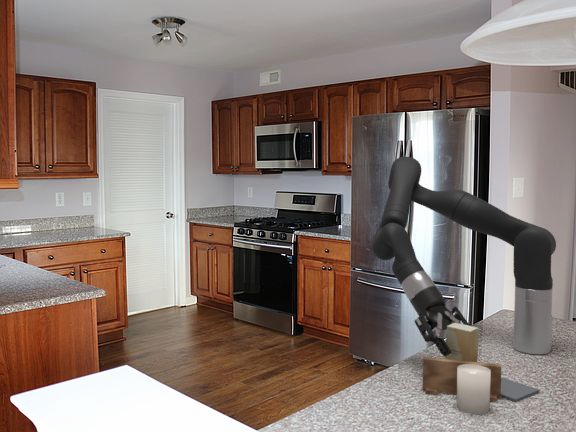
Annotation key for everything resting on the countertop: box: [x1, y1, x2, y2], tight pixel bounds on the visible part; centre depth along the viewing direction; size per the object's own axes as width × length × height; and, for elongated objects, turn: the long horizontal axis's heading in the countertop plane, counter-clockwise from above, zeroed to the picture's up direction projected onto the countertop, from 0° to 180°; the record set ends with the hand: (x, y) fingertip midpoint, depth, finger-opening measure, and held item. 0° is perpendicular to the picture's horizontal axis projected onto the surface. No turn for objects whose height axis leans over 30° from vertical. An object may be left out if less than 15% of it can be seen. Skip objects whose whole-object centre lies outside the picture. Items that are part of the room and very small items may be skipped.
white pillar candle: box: [456, 364, 491, 416], centre depth 110 cm, size 6×6×8 cm
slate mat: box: [501, 376, 540, 403], centre depth 119 cm, size 9×9×1 cm
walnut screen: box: [422, 356, 502, 403], centre depth 118 cm, size 16×5×7 cm, turn 72°
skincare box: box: [444, 322, 480, 362], centre depth 127 cm, size 6×4×12 cm
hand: (459, 350), depth 127 cm, fingers open, 8 cm apart
